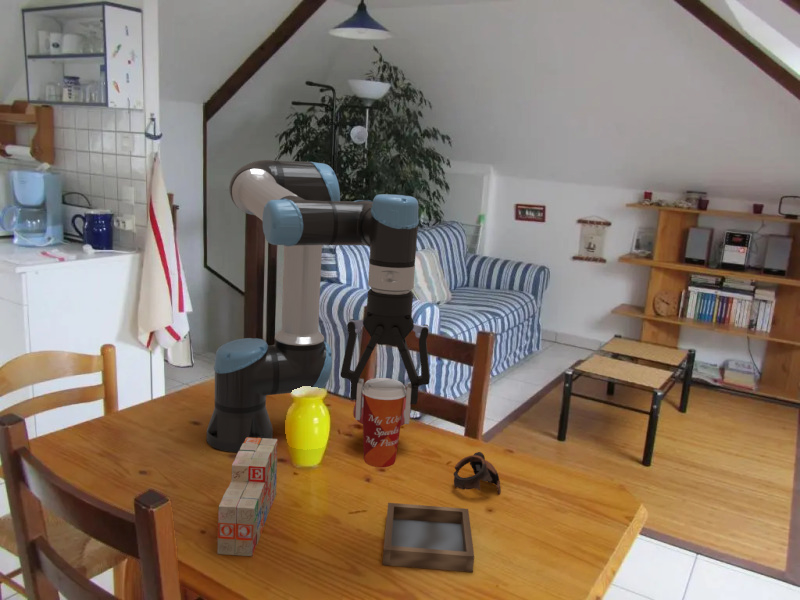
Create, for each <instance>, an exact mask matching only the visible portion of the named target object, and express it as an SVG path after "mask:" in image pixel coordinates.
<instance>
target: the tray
mask: <svg viewBox="0 0 800 600" xmlns="http://www.w3.org/2000/svg"><path fill="white" fill-rule="evenodd" d="M386 510H387V511H386V520H385V521H386V522H385V532H384V540H383V541H384V542H383V543H384V544H383V554H382V566H392V567H402V568H403V567H404V568H405V567H406V568H417V569H426V570H427V569H431V570H439V571H441V570H443V571H453V572H455V571H456V572H467V573H473V571H474V563H475V552H474V543H473V537H472V529H471V519H470V512H469V508H461V507H447V506H438V505H437V506H436V505H421V504H410V503H409V504H408V503H396V502H387V509H386Z"/></svg>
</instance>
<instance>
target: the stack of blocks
mask: <svg viewBox="0 0 800 600" xmlns="http://www.w3.org/2000/svg"><path fill="white" fill-rule="evenodd" d="M278 441H279V440H278V438H272V439H268V438H250V437H247V438H246V439H245V441H244V443H243V444H242V446H241V448H240V451H238V452H236V453H237V454H236V456H235V458H234V460H233V462H232V464H231V481H230V483H229V485H228V487H227V488H226V489H225V492H224V494H223V495H222V499H221V501H220V503H219V505H218V522H217V555H226V556H227V555H228V556H229V555H230V556H242V557H243V556H244V557H253V555H254V553H255V550H256V547H257V546H258V543H259V541H260V538H261V535H262V533H263V530H264V527H265V525H266V524H265V523H266V521H267V519H268V515H269V514H270V511H271V509H272V506H273V504H274V501H275V499H276V496H277V484H278V483H277V482H278V481H277V469H278Z"/></svg>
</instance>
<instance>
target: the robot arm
mask: <svg viewBox="0 0 800 600" xmlns="http://www.w3.org/2000/svg"><path fill="white" fill-rule="evenodd" d="M228 193H229V196H230V199H231V200H232V202H233V204H234V205H235V206H236V207H237V208H238V210H240V211H242V212H243V213H245V214H248V215H252V216H256V218H259V219H260V220H261V222H262V232H263V235H264V237H265V239H264V240H265V241H266V242H267V243H269V245H270V244H271V245H273V246H284V247H283V248H284V249H283V274H282V275H283V276H282V303H281V304H282V307H281V308H282V309H281V310H282V311H281V328H280V331H278V332H277V333H276V334H275V335H274V344H271V345H270V344H269V345H268V343H267V341H266V340H264V339H262V338H257V337H255V338H252V337H246V338H245V337H244V338H238V339H233V340H231V341H228V342H226V343H224V344H222V345H221V346H219V347H218V348H217V350H216V352H215V358H214V366H213V371H214V408H213V412H212V414H211V416H210V420H209V423H208V425H207V428H206V442H207V444H208V445H209V446H211V447H212V448H214V449H216V450H220V451H222V452H223V451H224V452H231V453H238V451H240V448H241V446H242V444H243V443H244V441H245V439H246V438H247V437H250V438H268V439H273V434H274V433H273V431H274V429H273V425H272V422H271V419H270V416H269V413H268V409H267V397H268V396H274V395H285V394H292V393H291V392H292V390H294V389H297V388H300V387H302V386H311V387H318V388H321V389H323V388H324V387H325V386H326V385H327V384H328V382H329V380H330V377H331V374H332V369H333V368H332V367H333V357H332V354H333V353H332V352H333V351H332V348H331V346H330V345H329V343H328V342H326V341H325V336H324V335H323V334H322V333H321V331H320V330H319V319H320V302H321V301H320V299H321V297H320V296H321V275H322V253H323V252H322V250H323V248H322V247H323V246H366V247H369V258H368V259H369V260H368V261H369V262H368V264H369V265H368V279H367V281H368V282H367V285H368V286H369V288H370V289H369V290H367V298H366V299H367V300H366V314H365V316H364V318H363V319H354V318H351V319H349V321H348V322H347V324H346V327H347V335H348V337H347V340H346V341H347V342H346V346H345V351H344V357H343V361H342V365H341V366H342V367H341V369H340V377H341V378H342V379H346V380H348V381H350V395H349V397H350V399H351V400H354V401H356V402H355V403H356V419H355V421H357V420H360V418H361V415H362V400H363V393H362V388H363V387H364V381H365V379H364V378H360V377H361V375H362V373H363V372H364V369H365V367H366V366H367V363H368V361H369V359H370V357H371V355H372V353H373V351H374V350H375V347H376V346H377V345H381V346H382V345H383V346H384V345H390V346H393V347H396V346H397V350H398V352H399V354H400V357H401V360H402V363H403V365H404V368H405V371H406V374H407V377H408V380H409V382H407V383H406V384H407V386H406V391H407V393H406V396H405V398H406V408H405V423H404V425H410V418H411V405H413V406H414V405H417V404H418V397H419V388H420V386H423V385H425V386H426V385H429V384H430V364H429V354H428V344H427V343H428V342H427V338H428V337H429V336H428V335H429V333H430V326H429V325H428V324H423V325H421V324H418V323H415V322H414V320H413V317H412V316H413V314H412V313H413V298H414V294H413V292H412V290H413V289H414V285H415V273H416V272H415V271H416V255H417V254H416V253H417V242H418V230H419V223H420V221H419V220H420V219H419V202H418V199H417V198H415V197H414V196H411V195H402V194H392V193H391V194H389V193H388V194H387V193H385V194H384V193H382V194H376V195H375V196H374V198H373V200H369V199H366V200H363V199H357V200H354V201H345V200H342V201H341V193H340V184H339V180H338V178H337V175H336V173H335V171H334V170H333V168H332V167H331V166H330V165H328V164H327V163H322V162H321V163H320V162H314V161H292V160H290V161H289V160H273V159H272V160H271V159H260V160H255V161H252V162H249V163H247V164H245V165H243V166H242V167H240V168H239V169H238V170H236V171H235V173H234V174H233V176H232V177H231V179H230V183H229V191H228ZM363 327H364V329H365V331H366V332H367V333H368V334H369V336H370V338H369V341H368V343H367V344H366V347H365V349H364V351H363V352H362V355H361V356H360V359H359V360H358V363H357V364H356V367H355V369H354V370H353V369H351V366H352V360H353V357H354V352H355V348H356V347H355V346H356V342H357V337H358V334H359V333H360V332H361V330H362V328H363ZM412 331H413V332H414V333H415V337H416V338H418V348H419V350H418V351H419V359H420V361H419V363H420V371H421V375H418V373H417V370H416V366H415V363H414V362H413V359H412V355H411V353H410V349H409V347H408V344H407V340H406V339H407V337H408V336H409V334H410V333H412Z"/></svg>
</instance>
